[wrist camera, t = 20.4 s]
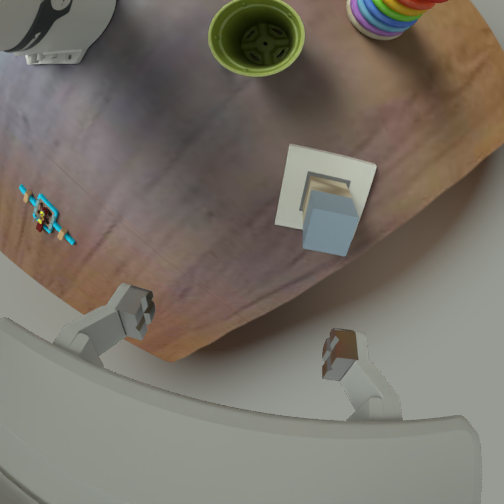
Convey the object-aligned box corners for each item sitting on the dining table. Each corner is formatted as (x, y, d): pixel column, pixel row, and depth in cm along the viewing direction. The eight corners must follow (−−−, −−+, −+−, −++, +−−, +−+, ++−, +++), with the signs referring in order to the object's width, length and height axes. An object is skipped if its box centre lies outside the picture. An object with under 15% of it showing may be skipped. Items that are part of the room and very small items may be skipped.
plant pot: (274, 91, 31) (267, 94, 24) (214, 54, 29) (190, 48, 22) (318, 39, 26) (324, 27, 19) (255, 1, 24) (242, -19, 17)
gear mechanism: (69, 253, 55) (80, 230, 50) (56, 267, 50) (66, 245, 46) (19, 200, 48) (25, 173, 44) (4, 211, 44) (9, 183, 39)
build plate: (275, 220, 42) (274, 224, 41) (289, 143, 35) (289, 145, 34) (351, 236, 41) (352, 240, 40) (374, 163, 34) (377, 166, 33)
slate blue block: (302, 225, 35) (302, 248, 31) (311, 189, 32) (312, 208, 28) (340, 233, 34) (345, 256, 30) (351, 198, 31) (359, 218, 27)
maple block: (302, 208, 39) (302, 225, 35) (310, 175, 36) (311, 189, 32) (336, 215, 38) (340, 233, 34) (346, 183, 35) (352, 198, 31)
